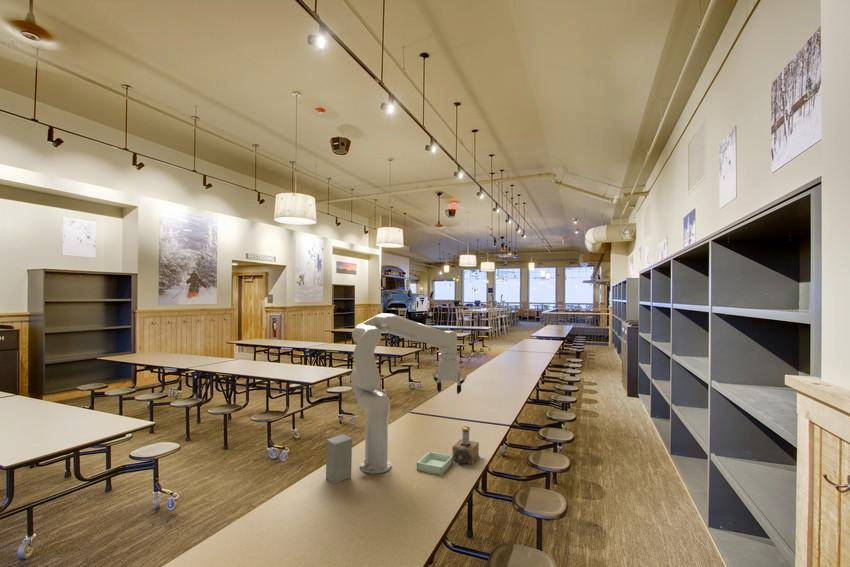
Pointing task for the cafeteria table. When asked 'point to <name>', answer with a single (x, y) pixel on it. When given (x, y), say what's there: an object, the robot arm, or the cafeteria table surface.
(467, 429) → the lock pin
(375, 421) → the robot arm
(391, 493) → the cafeteria table surface
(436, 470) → the tray
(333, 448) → the skincare box
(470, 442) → the block
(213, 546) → the cafeteria table surface
